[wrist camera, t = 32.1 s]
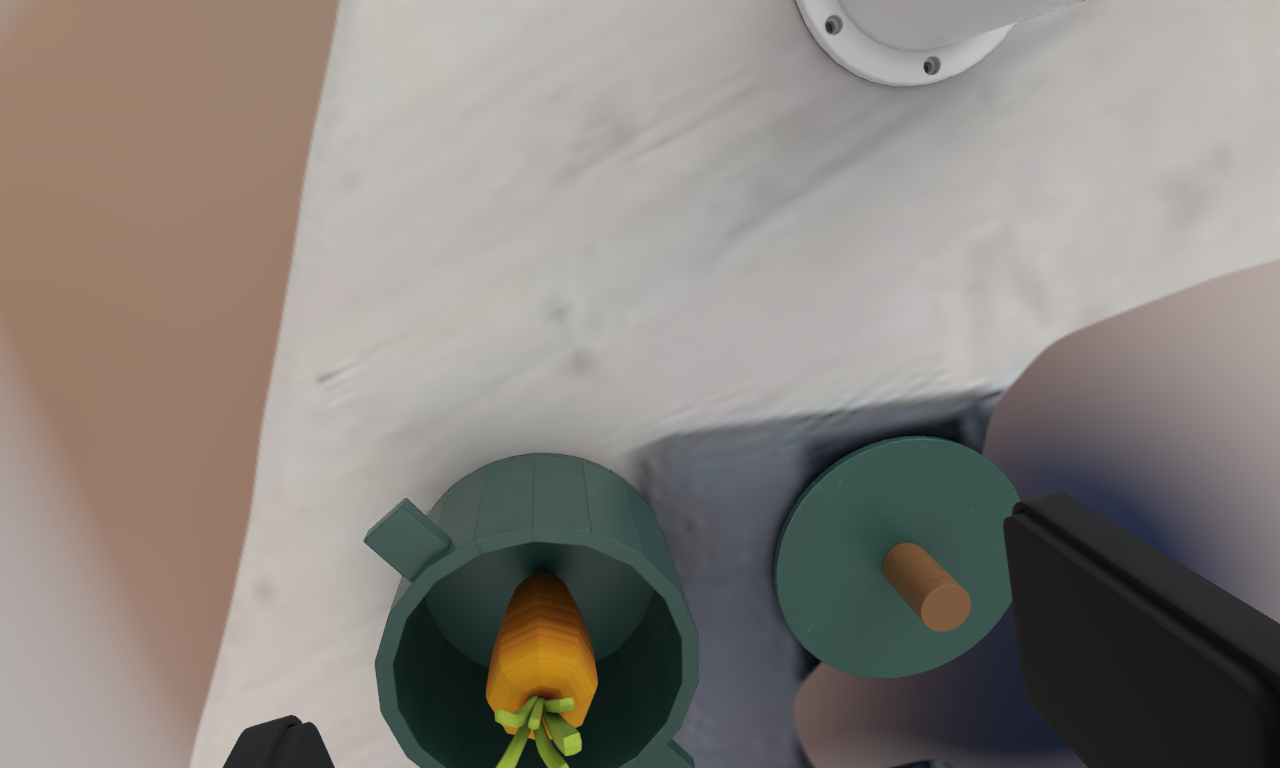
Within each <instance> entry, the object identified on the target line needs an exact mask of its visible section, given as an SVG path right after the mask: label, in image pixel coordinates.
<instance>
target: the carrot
mask: <svg viewBox="0 0 1280 768" xmlns="http://www.w3.org/2000/svg"><path fill="white" fill-rule="evenodd" d="M597 685H598V678H597V672H596V665H595V658H594V653H593V648H592V643H591V638H590V633H589V631H588V628H587V626H586V624H585V621H584V619H583V616H582V614H581V612H580V610H579V608H578V606H577V604H576V602H575V600H574V599H573V597H572V595H571V593H570V591H569V590H568V588H567V586H566V584H565V583H564V582H563V581H562V580H561V579H560V578H559V577H558V576H555V575H552V574H550V573H547V572H543V571H541V572H539V573H537V574H535V575H533V576H531V577H529V578H527V579H525V580H524V581H523V582H522V583H520V584H519V585H518V586H517V587H516V589H515V591H514V594H513V596H512V598H511V600H510V602H509V605H508V607H507V610H506V613H505V615H504V618H503V621H502V624H501V626H500V629H499V632H498V635H497V637H496V640H495V643H494V648H493V653H492V658H491V663H490V668H489V675H488V681H487V688H486V698H487V701H488V703H489V705H490V706H491V708H492V710H493V711H494V713H495V721H496V722H498V723H500V724H502V726H503V727H504V729H505V730H506V732H507V733H509V734H513V735H514V737H513V739H512V741H511V742H510V744H509V746H508V748H507V749H506V751H505V753H504V755H503V756H502V758H501V760H500V761H499V763H498V764H497V766H496V767H495V768H515V767H516V765H517V763H518V760H519V758H520V755H521V753H522V751H523V748H524V746H525V744H526V741H527V739H528V738H531V739H535V742H536V745H537V748H538V752H539V754H540V756H541V757H542V759H543V761H544V762H545V764H546V766H547V767H548V768H569V766H568V765H567V763H566V762H565V760H564V759H563V758H562V756H561V755H560V754H559V753H558V751H557V750H556V749H555V748H554V746H553V744H552V742H551V739H553V741H554V743H555V744H556V745H557V747H558V748H559V750H560V751H561V752H562V753H563V754H564V755H565V756H569V755H574V754H576V753H578V752H579V751H581V749H582V741H581V737H580V733H579V732H578V731H577V730H576V727H578V726H581V725H582V723H583V721H584V719H585V716H586V714H587V711H588V709H589V706H590V704H591V701H592V699H593V696H594V694H595V691H596V688H597Z"/></svg>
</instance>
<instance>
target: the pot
mask: <svg viewBox="0 0 1280 768" xmlns="http://www.w3.org/2000/svg"><path fill="white" fill-rule="evenodd" d="M364 542H365V543H366V544H367V545H368V546H369V547H370V548H371V549H373V550H374V551H375V552H376V553H377V554H378V555H379V556H381V557H382V558H383V559H384V560H385V561H386V562H388V563H389V564H390V565H391V566H392V567H393V568H394V569H396V570H397V571H398V572H399V573H400V574H401V575H402V578H401V581H400V584H399V587H398V590H397V593H396V595H395V598H394V601H393V604H392V607H391V610H390V612H389V615H388V619H387V622H386V626H385V629H384V633H383V636H382V639H381V643H380V646H379V650H378V653H377V656H376V660H375V670H376V678H377V686H378V694H379V702H380V710H381V713H382V715H383V717H384V719H385V721H386V722H387V724H388V726H389V727H390V729H391V731H392V732H393V734H394V736H395V738H396V739H397V741H398V743H399V744H400V746H401V748H402V749H403V751H404V753H405V755H407V757H408V758H409V759H410V760H411V761H413V762H414V763H415V764H416V765H418V766H419V767H420V768H495V767H496V766H497V764H498V763H499V761H500V760H501V758H502V756H503V755H504V753H505V751H506V749H507V748H508V746H509V744H510V742H511V741H512V739H513V737H514V735H513V734H509V733H507V732H506V730H505V729H504V727H503V726H502V724H500V723H498V722H496V721H495V713H494V711H493V710H492V708H491V706H490V705H489V703H488V701H487V698H486V688H487V681H488V675H489V668H490V663H491V658H492V653H493V648H494V643H495V640H496V637H497V635H498V632H499V629H500V626H501V624H502V621H503V618H504V615H505V613H506V610H507V607H508V605H509V602H510V600H511V598H512V596H513V594H514V591H515V589H516V587H517V586H518V585H519V584H520V583H522V582H523V581H524V580H525V579H527V578H529V577H531V576H533V575H535V574H537V573H539V572H541V571H543V572H547V573H550V574H552V575H555V576H558V577H559V578H560V579H561V580H562V581H563V582H564V583H565V584H566V586H567V588H568V590H569V591H570V593H571V595H572V597H573V599H574V600H575V602H576V604H577V606H578V608H579V610H580V612H581V614H582V616H583V619H584V621H585V624H586V626H587V628H588V631H589V633H590V638H591V643H592V648H593V653H594V658H595V665H596V672H597V678H598V685H597V688H596V691H595V694H594V696H593V699H592V701H591V704H590V706H589V709H588V711H587V714H586V716H585V719H584V721H583V723H582V725H581V726H578V727H576V730H577V731H578V732H579V733H580V737H581V741H582V749H581V751H579V752H578V753H576V754H574V755H569V756H565V755H564V754H563V753H562V752H561V751H560V750H559V748H558V747H557V745H556V744H555V743H554V741H553V739H551V742H552V744H553V746H554V748H555V749H556V750H557V751H558V753H559V754H560V755H561V756H562V758H563V759H564V760H565V762H566V763H567V765H568V766H569V768H695V765H694V761H693V758H692V757H691V756H690V755H689V754H688V753H687V752H686V751H685V750H683V749H682V748H681V747H680V746H679V745H678V744H677V743H676V742H675V741H674V740H672V737H673V736H674V735H675V734H676V733H677V732H678V731H679V729H680V727H681V725H682V723H683V720H684V718H685V715H686V713H687V710H688V707H689V705H690V702H691V700H692V697H693V695H694V692H695V690H696V687H697V685H698V633H697V630H696V627H695V624H694V621H693V618H692V615H691V612H690V609H689V606H688V603H687V600H686V597H685V594H684V591H683V588H682V586H681V583H680V580H679V577H678V574H677V571H676V568H675V565H674V562H673V559H672V556H671V553H670V550H669V547H668V545H667V542H666V540H665V538H664V535H663V533H662V530H661V528H660V525H659V523H658V521H657V518H656V516H655V514H654V511H653V510H652V508H651V507H650V506H649V505H648V504H647V502H646V501H645V500H644V499H643V498H642V496H641V495H640V494H639V493H638V492H637V491H636V490H635V489H634V488H633V487H632V486H631V485H630V484H628V483H627V482H626V481H625V480H624V479H622V478H621V477H619V476H618V475H616V474H615V473H613V472H612V471H610V470H608V469H606V468H604V467H602V466H600V465H598V464H596V463H593V462H590V461H587V460H584V459H581V458H577V457H572V456H567V455H561V454H549V453H542V454H526V455H520V456H514V457H509V458H506V459H503V460H499V461H496V462H493V463H491V464H488V465H486V466H484V467H482V468H479V469H477V470H476V471H474V472H472V473H471V474H469V475H467V476H466V477H464V478H463V479H461V480H460V481H459V482H457V483H456V484H455V485H454V486H452V487H451V488H450V489H449V490H448V491H447V492H446V493H445V494H444V495H443V496H442V497H441V498H440V499H439V500H438V501H437V503H436V504H435V506H434V507H433V508H432V510H431V511H430V512H429V514H428V515H427V516H426V515H425V514H424V513H423V512H421V511H420V510H419V509H418V508H417V507H416V506H415V505H414V504H413V503H412V502H410V501H409V500H408V499H407V498H405V499H403V500H402V501H401V502H400V503H399V504H398V505H397V506H396V507H395V508H393V509H392V510H391V511H390V512H389V513H388V514H387V515H386V516H385V517H383V518H382V519H381V520H380V521H379V522H378V523H377V524H376V525H374V526H373V527H372V528H371V529H370V530H369V531H368V533H367V535H366V537H365V539H364ZM515 768H548V767H547V766H546V764H545V762H544V761H543V759H542V757H541V756H540V754H539V752H538V748H537V745H536V742H535V739H531V738H528V739H527V741H526V744H525V746H524V748H523V751H522V753H521V755H520V758H519V760H518V763H517V765H516V767H515Z"/></svg>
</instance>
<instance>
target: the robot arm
mask: <svg viewBox="0 0 1280 768" xmlns="http://www.w3.org/2000/svg"><path fill="white" fill-rule="evenodd" d="M1081 1H1084V0H796V2H797V5H798V7H799V10H800V12H801V14H802V17H803V19H804V22H805V24H806V25H807V27H808V29H809V30H810V32H811V33H812V35H813V36H814V38H815V39H816V41H817V42H818V44H819V45H820V46H821V47H822V48H823V49H824V50H825V51H826V52H827V53H828V54H829V55H830V56H831V58H832V59H833V60H834V61H835V62H837V63H838V64H840V65H841V66H843V67H844V68H846V69H847V70H849V71H850V72H852V73H853V74H855V75H857V76H860V77H862V78H865V79H867V80H870V81H872V82H874V83H879V84H885V85H891V86H897V87H899V86H920V85H925V84H929V83H934V82H938V81H941V80H944V79H946V78H949V77H952V76H954V75H957V74H960V73H962V72H963V71H965V70H967V69H968V68H970V67H972V66H973V65H975V64H977V63H978V62H980V61H981V60H983V59H984V58H985V57H986V56H987V55H988V54H989V53H990V52H992V51H993V50H994V49H995V48H996V47H997V46H998V45H999V44H1000V43H1001V42H1002V41H1003V39H1004V38H1005V37H1006V36H1007V34H1008V33H1009V32H1010V31H1011V29H1012V28H1013V27H1014V26H1015V24H1016V23H1017V22H1020V21H1023V20H1026V19H1029V18H1032V17H1035V16H1038V15H1041V14H1044V13H1048V12H1051V11H1054V10H1057V9H1060V8H1063V7H1066V6H1069V5H1072V4H1075V3H1078V2H1081ZM826 23H829V24H830V25H831V26H832V31H831V33H828V32H827V31H826V28H825V24H826ZM924 63H926V64H927V66H928V70H927V72H925V70H924ZM1003 532H1004V539H1005V547H1006V555H1007V562H1008V570H1009V577H1010V585H1011V593H1012V600H1013V608H1014V616H1015V623H1016V631H1017V638H1018V646H1019V654H1020V661H1021V669H1022V677H1023V683H1024V688H1025V690H1026V693H1027V696H1028V698H1029V700H1030V702H1031V704H1032V705H1033V707H1034V709H1035V710H1036V711H1037V712H1038V714H1039V715H1040V716H1041V717H1042V718H1043V719H1044V720H1045V721H1046V722H1047V723H1048V725H1049V726H1050V727H1051V728H1052V729H1053V730H1054V731H1055V732H1056V733H1057V734H1058V735H1059V737H1060V738H1061V739H1062V740H1063V741H1064V742H1065V743H1066V744H1067V745H1068V746H1069V747H1070V748H1071V750H1073V752H1074V753H1075V754H1076V755H1077V756H1078V757H1079V758H1080V759H1081V760H1082V761H1083V762H1084V764H1085V765H1086V766H1087V767H1088V768H1280V624H1279V623H1278V622H1276V621H1274V620H1273V619H1271V618H1269V617H1268V616H1266V615H1264V614H1263V613H1261V612H1259V611H1258V610H1256V609H1254V608H1253V607H1251V606H1250V605H1248V604H1246V603H1245V602H1243V601H1241V600H1240V599H1238V598H1236V597H1235V596H1233V595H1231V594H1230V593H1228V592H1226V591H1225V590H1223V589H1221V588H1220V587H1218V586H1217V585H1215V584H1213V583H1212V582H1210V581H1208V580H1207V579H1205V578H1203V577H1202V576H1200V575H1198V574H1197V573H1195V572H1193V571H1192V570H1190V569H1189V568H1187V567H1185V566H1184V565H1182V564H1180V563H1179V562H1177V561H1175V560H1174V559H1172V558H1170V557H1169V556H1167V555H1166V554H1164V553H1162V552H1161V551H1159V550H1157V549H1156V548H1154V547H1152V546H1151V545H1149V544H1147V543H1146V542H1144V541H1142V540H1141V539H1139V538H1138V537H1136V536H1134V535H1132V534H1131V533H1129V532H1128V531H1126V530H1124V529H1123V528H1121V527H1119V526H1118V525H1116V524H1114V523H1113V522H1111V521H1110V520H1108V519H1106V518H1105V517H1103V516H1101V515H1100V514H1098V513H1096V512H1094V511H1093V510H1091V509H1089V508H1088V507H1086V506H1085V505H1083V504H1081V503H1080V502H1078V501H1077V500H1075V499H1073V498H1072V497H1070V496H1068V495H1067V494H1065V493H1062V492H1060V491H1057V492H1052V493H1049V494H1045V495H1041V496H1038V497H1035V498H1031V499H1028V500H1025V501H1021V502H1017V503H1016V504H1015V505H1014V506H1013V510H1012V516H1009V517H1006V518H1005V519H1004V523H1003ZM223 768H335V767H334V765H333V763H332V760H331V758H330V756H329V754H328V751H327V749H326V747H325V745H324V742H323V740H322V738H321V736H320V733H319V731H318V729H317V728H316V726H315V725H314V724H313V723H311V722H307V723H304V724H302V722H301V720H300V719H298V718H297V717H296V716H293V715H289V716H286V717H283V718H279V719H276V720H272V721H269V722H265V723H262V724H259V725H255V726H252V727H249V728H247V729H245V730H244V731H243V732H242V734H241V735H240V737H239V738H238V740H237V742H236V744H235V746H234V748H233V749H232V751H231V753H230V755H229V757H228V759H227V761H226V762H225V764H224V766H223Z"/></svg>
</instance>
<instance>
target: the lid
mask: <svg viewBox="0 0 1280 768" xmlns="http://www.w3.org/2000/svg"><path fill="white" fill-rule="evenodd" d="M1017 502H1021V501H1020V499H1019V497H1018V494H1017V492H1016V491H1015V489H1014V487H1013V486H1012V484H1011V483H1010V481H1009V480H1008V478H1007V477H1006V476H1005V475H1004V474H1003V473H1002V471H1001V470H999V468H998V467H997V466H996V465H994V464H993V463H992V462H991V461H989V460H988V459H987V458H985V457H984V456H983V455H981V454H979V453H978V452H976V451H974V450H972V449H971V448H969V447H967V446H964V445H962V444H959V443H957V442H954V441H950V440H946V439H942V438H938V437H927V436H906V437H898V438H892V439H886V440H883V441H880V442H876V443H873V444H870V445H867V446H865V447H863V448H860V449H858V450H856V451H854V452H852V453H850V454H848V455H847V456H845V457H843V458H841V459H840V460H838V461H837V462H835V463H834V464H833V465H831V466H830V467H829V468H827V469H826V470H825V471H823V472H822V473H821V474H820V475H819V476H818V477H817V478H816V479H815V480H814V481H813V482H812V483H811V484H810V485H809V486H808V487H807V489H806V490H805V491H804V492H803V493H802V495H801V496H800V497H799V499H798V500H797V502H796V503H795V505H794V506H793V508H792V510H791V511H790V513H789V515H788V517H787V519H786V521H785V523H784V525H783V528H782V531H781V534H780V537H779V540H778V543H777V548H776V553H775V558H774V585H775V593H776V597H777V601H778V605H779V607H780V610H781V612H782V615H783V617H784V619H785V621H786V623H787V625H788V626H789V628H790V630H791V631H792V633H793V635H794V636H795V637H796V638H797V640H798V641H799V642H800V643H801V644H802V646H803V647H804V648H806V649H807V650H808V651H809V652H810V653H811V654H812V655H813V656H815V657H816V658H818V659H819V660H821V661H822V662H824V663H826V664H827V665H829V666H832V667H834V668H836V669H838V670H840V671H843V672H846V673H849V674H853V675H857V676H863V677H869V678H897V677H905V676H909V675H915V674H919V673H922V672H925V671H928V670H932V669H934V668H936V667H939V666H941V665H943V664H945V663H948V662H949V661H951V660H953V659H954V658H956V657H958V656H960V655H962V654H963V653H964V652H966V651H967V650H968V649H970V648H971V647H973V646H974V645H975V644H976V643H978V642H979V641H980V640H981V639H982V638H983V637H984V636H985V635H986V634H988V632H989V631H990V630H991V629H992V628H993V627H994V626H995V625H996V624H997V622H998V621H999V620H1000V618H1001V617H1002V616H1003V614H1004V613H1005V611H1006V610H1007V608H1008V607H1009V605H1010V603H1011V601H1012V593H1011V585H1010V577H1009V570H1008V562H1007V555H1006V547H1005V539H1004V532H1003V523H1004V519H1005V518H1006V517H1009V516H1012V510H1013V506H1014V505H1015V504H1016V503H1017Z"/></svg>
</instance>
